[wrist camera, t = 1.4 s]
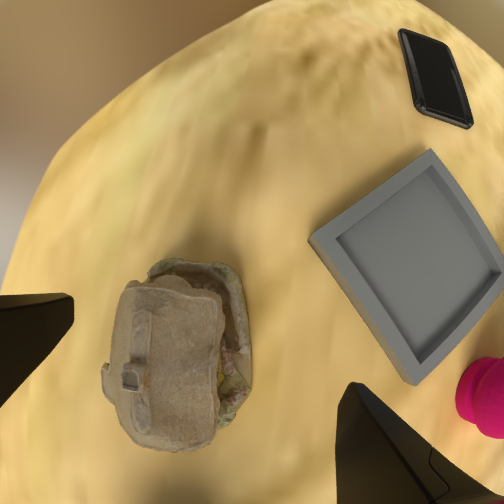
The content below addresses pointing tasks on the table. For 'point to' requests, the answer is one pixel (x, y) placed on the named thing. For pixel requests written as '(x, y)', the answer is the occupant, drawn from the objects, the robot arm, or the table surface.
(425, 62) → the phone
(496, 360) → the pepper mill
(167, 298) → the ceramic model
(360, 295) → the grey tray
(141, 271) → the table surface
